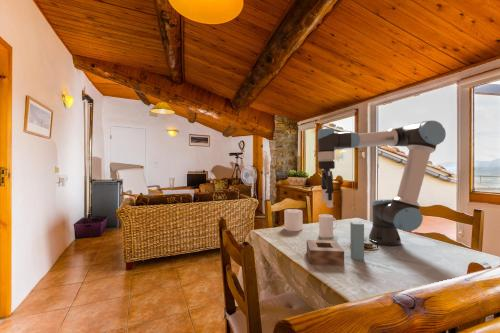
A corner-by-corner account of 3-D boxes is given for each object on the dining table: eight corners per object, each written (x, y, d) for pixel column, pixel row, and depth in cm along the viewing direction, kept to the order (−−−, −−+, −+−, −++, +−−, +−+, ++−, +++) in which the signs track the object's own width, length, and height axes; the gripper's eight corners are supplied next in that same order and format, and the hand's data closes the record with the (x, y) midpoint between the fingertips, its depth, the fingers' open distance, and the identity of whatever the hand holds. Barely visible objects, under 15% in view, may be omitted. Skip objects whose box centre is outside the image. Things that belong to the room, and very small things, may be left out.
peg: (360, 256, 110) (360, 221, 110) (364, 260, 105) (364, 224, 105) (350, 255, 110) (350, 221, 110) (353, 259, 106) (353, 224, 106)
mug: (333, 232, 147) (333, 213, 147) (341, 236, 139) (341, 216, 139) (315, 234, 144) (315, 214, 144) (323, 238, 136) (323, 217, 136)
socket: (336, 253, 114) (336, 240, 114) (344, 265, 100) (344, 251, 100) (306, 251, 116) (306, 239, 116) (310, 264, 102) (310, 250, 102)
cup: (284, 230, 152) (284, 212, 152) (284, 226, 163) (284, 208, 163) (303, 231, 150) (302, 212, 150) (302, 226, 161) (301, 209, 161)
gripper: (315, 161, 127) (316, 200, 127) (322, 160, 102) (323, 209, 103) (329, 160, 126) (330, 200, 126) (340, 160, 101) (341, 209, 102)
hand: (327, 204), depth 115 cm, fingers open, 13 cm apart
